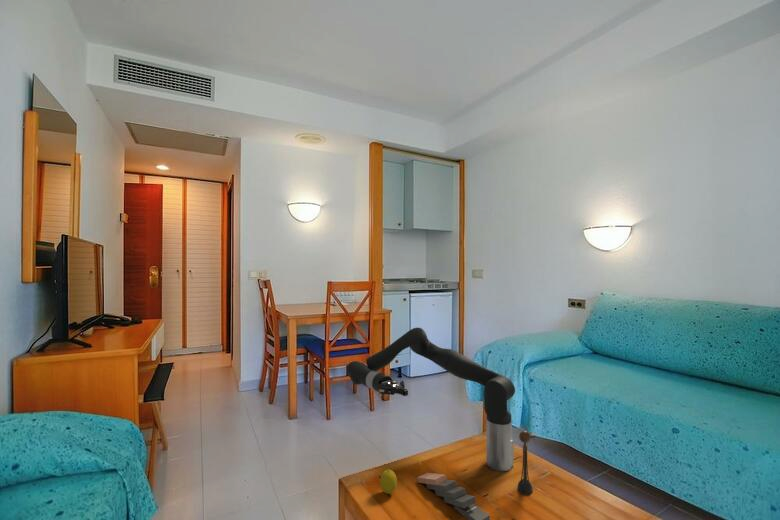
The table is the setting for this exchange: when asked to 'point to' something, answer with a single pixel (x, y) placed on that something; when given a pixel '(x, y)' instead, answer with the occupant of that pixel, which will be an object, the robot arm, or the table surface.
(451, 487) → the charcoal domino
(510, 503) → the table surface
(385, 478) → the lemon
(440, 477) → the terracotta domino
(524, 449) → the wooden tabletop sculpture
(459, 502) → the charcoal domino
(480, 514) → the charcoal domino
